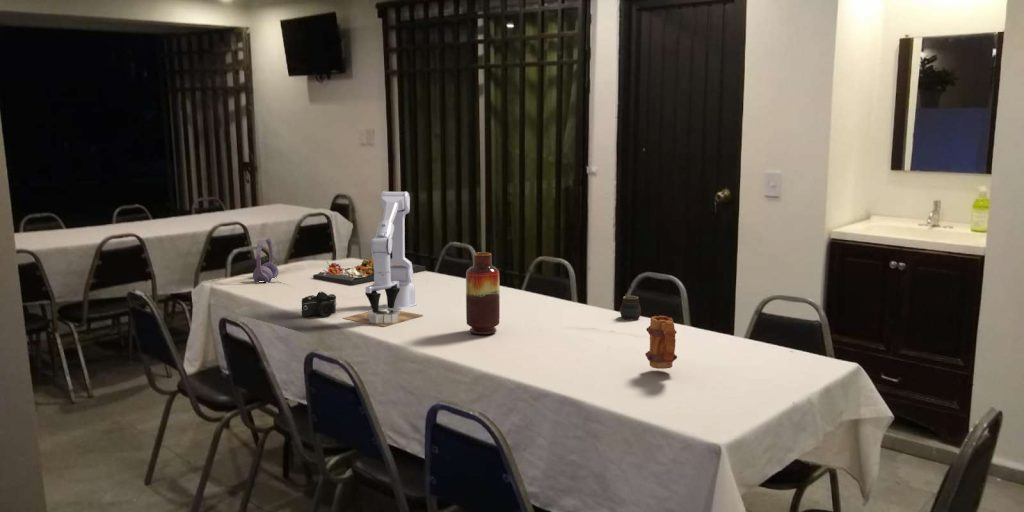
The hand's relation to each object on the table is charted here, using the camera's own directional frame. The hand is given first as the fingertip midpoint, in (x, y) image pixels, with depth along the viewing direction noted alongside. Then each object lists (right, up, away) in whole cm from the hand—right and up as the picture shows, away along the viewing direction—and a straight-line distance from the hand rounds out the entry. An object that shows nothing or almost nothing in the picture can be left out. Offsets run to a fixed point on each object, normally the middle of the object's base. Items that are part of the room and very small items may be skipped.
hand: (383, 310), depth 287 cm
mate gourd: (+87, -4, +3) cm, 87 cm away
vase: (+35, -6, -13) cm, 38 cm away
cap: (0, -4, +1) cm, 4 cm away
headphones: (-62, +7, +71) cm, 95 cm away
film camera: (-25, -4, +7) cm, 26 cm away
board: (-1, -3, +6) cm, 7 cm away
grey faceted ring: (0, -4, +1) cm, 4 cm away
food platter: (-18, +8, +80) cm, 83 cm away
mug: (+87, -13, -57) cm, 105 cm away
